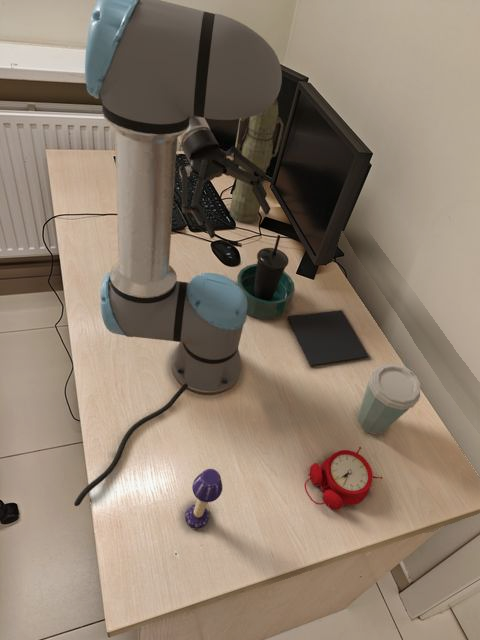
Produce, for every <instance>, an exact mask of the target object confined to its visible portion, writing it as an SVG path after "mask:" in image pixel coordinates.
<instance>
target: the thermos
mask: <svg viewBox="0 0 480 640" xmlns="http://www.w3.org/2000/svg"><path fill="white" fill-rule="evenodd" d="M246 120H247V121H246ZM245 121H246V129H245V133H244V135H243V129H244V124H245ZM276 125H278V127H277V130H276ZM284 127H285V125H284V122H283V120H282V118H281V117H280V116H279V102H278V99H276V100H275V101H274V103H273V104H272V105H271V106H270V107H269V108H268V109H267V110H266V111H264V112H262V113H260V114H258V115H255V116H252V117H248V118H242V119H238V126H237V133H236V139H235V145H234V146H235V147H236V148H237V150H238V151H239V153H240V154H242V155H243V156H244V157H246V158H247V159H248V160H250V161H251V162H252V163H253V164H255V165H256V166H257V167H259V168H260V169H261V170H263V171H264V172H265V173H267V169H268V168H269V167H270V165H271V164H270V163H271V160H272V159H273V158H275V157H277V155H278V151H279V147H280V143H281V138H282V135H283V130H284ZM275 131H277V132H276V136H275V141H274V142H273V140H274V133H275ZM242 136H243V137H242ZM238 168H240V169H242V170H244V169H243V168H241V167H240V166H239V165H238ZM244 171H245V170H244ZM246 172H247V171H246ZM264 183H265V180H264V181H263V182H262V185H263V186H264ZM252 188H253V186H251V185H249V184H247V183H245V182H242V181H240V180H238V179H236V182H235V187H234V190H233V191H232V195H231V200H230V209H229V216H230V217H231V218H232V219H233V220H234V221H236V222H237V223H241V224H252V223H254V222H256V221H257V219H258V215H259V212H260V209H261V206H260V204H259V202H258V200H257V198H256V197H255V195H254V193H253V191H252Z"/></svg>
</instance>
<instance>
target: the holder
mask: <svg viewBox="0 0 480 640" xmlns="http://www.w3.org/2000/svg"><path fill="white" fill-rule="evenodd" d="M286 320H287V321H288V324H289V325H290V328H291V330H292V332H293V334H294V336H295V338H296V340H297V342H298V345H299V346H300V348H301V350H302V353H303V355H304V357H305V359H306V361H307V363H308V365H309V367H310V368H313V367H319V366H327V365H332V364H339V363H346V362H352V361H357V360H358V361H359V360H364V359H368V358H369V357H370V355H369V353H368V352H367V350H366V349H365V347H364V345H363V344H362V342H361V340H360V338H359V337H358V335H357V333H356V332H355V330H354V329H353V326H352V324H351V323H350V321H349V319H348V318H347V317H346V314H345V313H344V311H343V310H342V309H341V310H332V311H323V312H314V313H305V314H295V315H287V316H286Z"/></svg>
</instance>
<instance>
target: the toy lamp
mask: <svg viewBox="0 0 480 640" xmlns="http://www.w3.org/2000/svg"><path fill="white" fill-rule="evenodd" d="M191 488H192V493H193V496H194V497H195V498H196V499H197V501H196V502H195V503H194V504H192V505H190V506H189V507H188V508H187V510H186V511H185V514H184V520H185V523H186V524H187V525H188V527H190V528H191V529H193V530H194V529H195V530H200V529H203V528H204V527H206V526H207V525H208V523H209V521H210V512H209V510H208V508H207V505H208V503H213V502H214V501H216V500H218V499H219V498H220V497H221V495H222V492H223V481H222V477H221V474H220V473H219V471H217V470H216V469H214V468H207V469H204V470H203V471H202V472H200V473H199V474H198V475H197V476H196V477H195V478H194V479H193V482H192V487H191Z"/></svg>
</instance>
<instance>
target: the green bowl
mask: <svg viewBox="0 0 480 640" xmlns="http://www.w3.org/2000/svg"><path fill="white" fill-rule="evenodd" d="M256 269H257V263H253V264H249V265H246V266H245V267H243V268H241V269H240V271H239V272H238V274H237V277H236V281H235V282H236V283H237V285H238V286H239V287H240V288H241V289H242V290H243V291H244V293H245V295H246V298H247V312H246V315H248V316H250V317H252V318H257V319H260V320H275V319H279V318H282V317H283V315H285V314H286V313H288V311H289V308H290V305H291V303H292V300H293V296H294V293H295V290H296V288H295V282H294V281H293V279H292V277H291V276H290V275H289V274H288V273H287V272H285V271H284V272H283V274H282V276H281V279H280V281H279V283H278V286H277V288H276V290H275V293H274V295H273V297H272V300H271V301H265V300H261V299H258V298H256V297H254V296H253V291H254V284H255V276H256Z"/></svg>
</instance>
